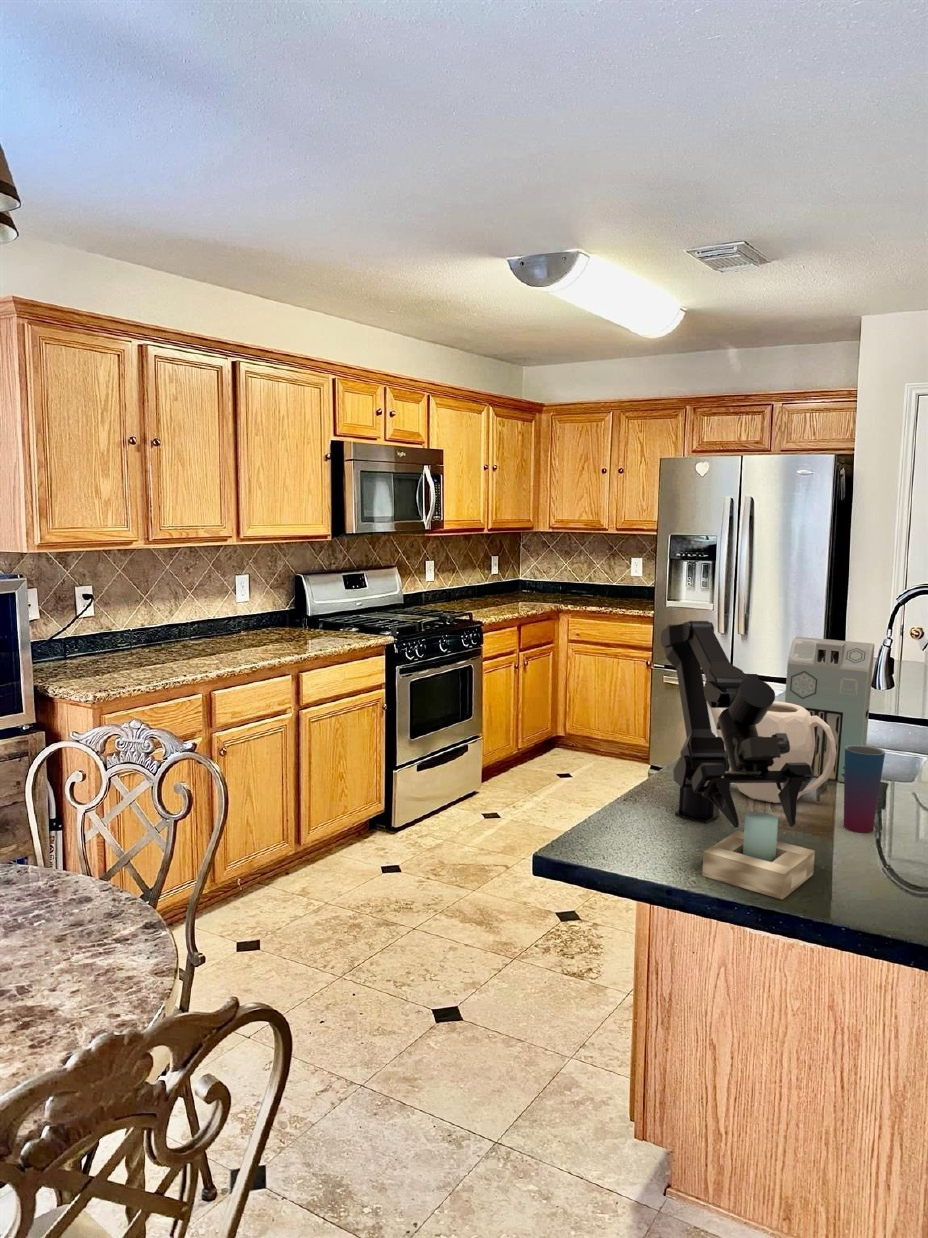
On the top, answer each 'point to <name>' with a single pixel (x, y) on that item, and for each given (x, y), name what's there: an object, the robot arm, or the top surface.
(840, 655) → the device
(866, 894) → the top surface
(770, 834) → the peg
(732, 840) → the socket
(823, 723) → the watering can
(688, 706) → the robot arm
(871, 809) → the cup
